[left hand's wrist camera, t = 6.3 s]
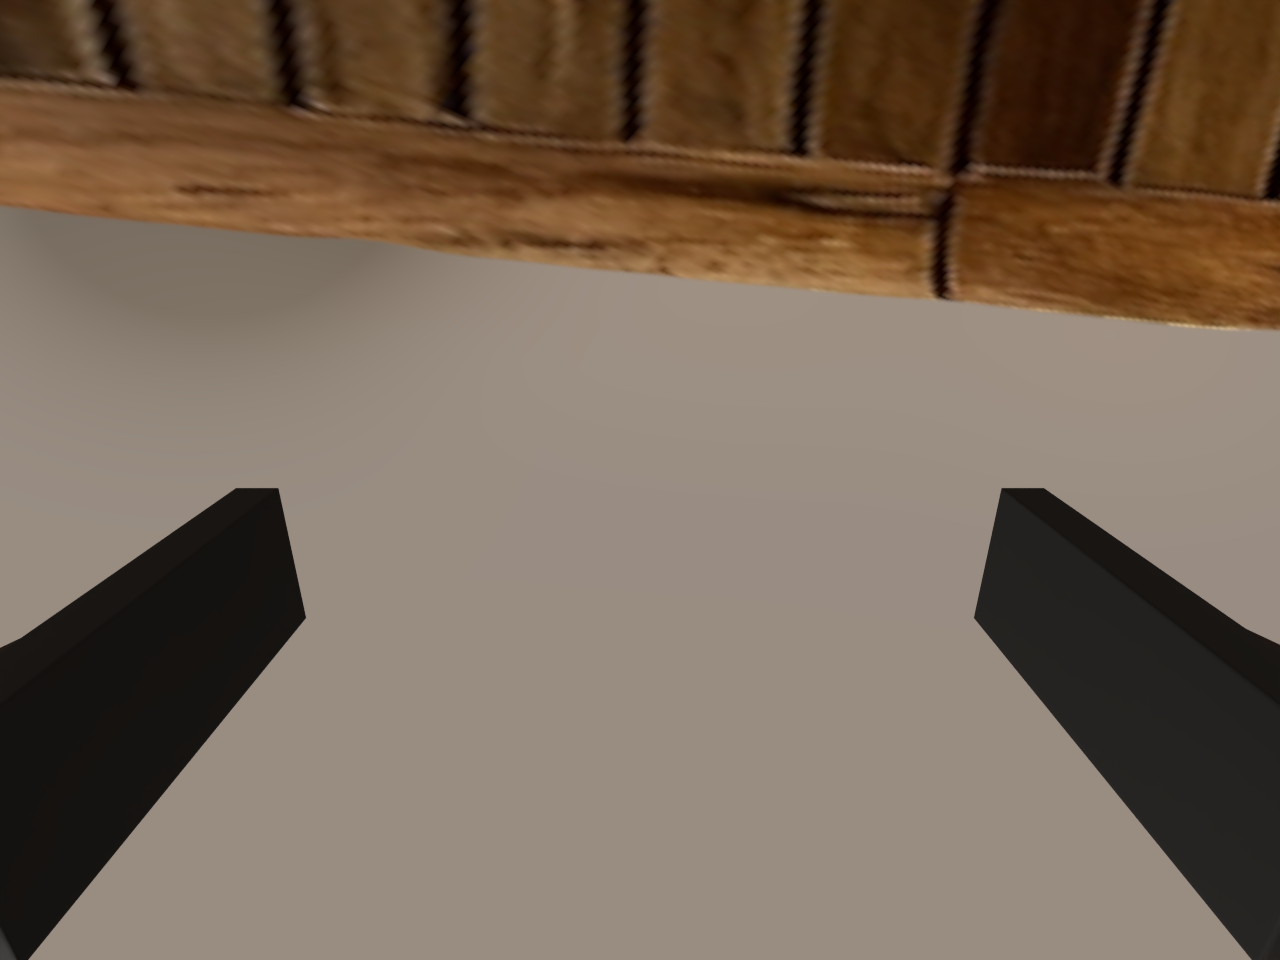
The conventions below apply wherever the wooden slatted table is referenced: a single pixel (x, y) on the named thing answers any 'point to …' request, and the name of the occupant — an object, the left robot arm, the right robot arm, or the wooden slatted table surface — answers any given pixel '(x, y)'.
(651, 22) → the wooden slatted table surface
